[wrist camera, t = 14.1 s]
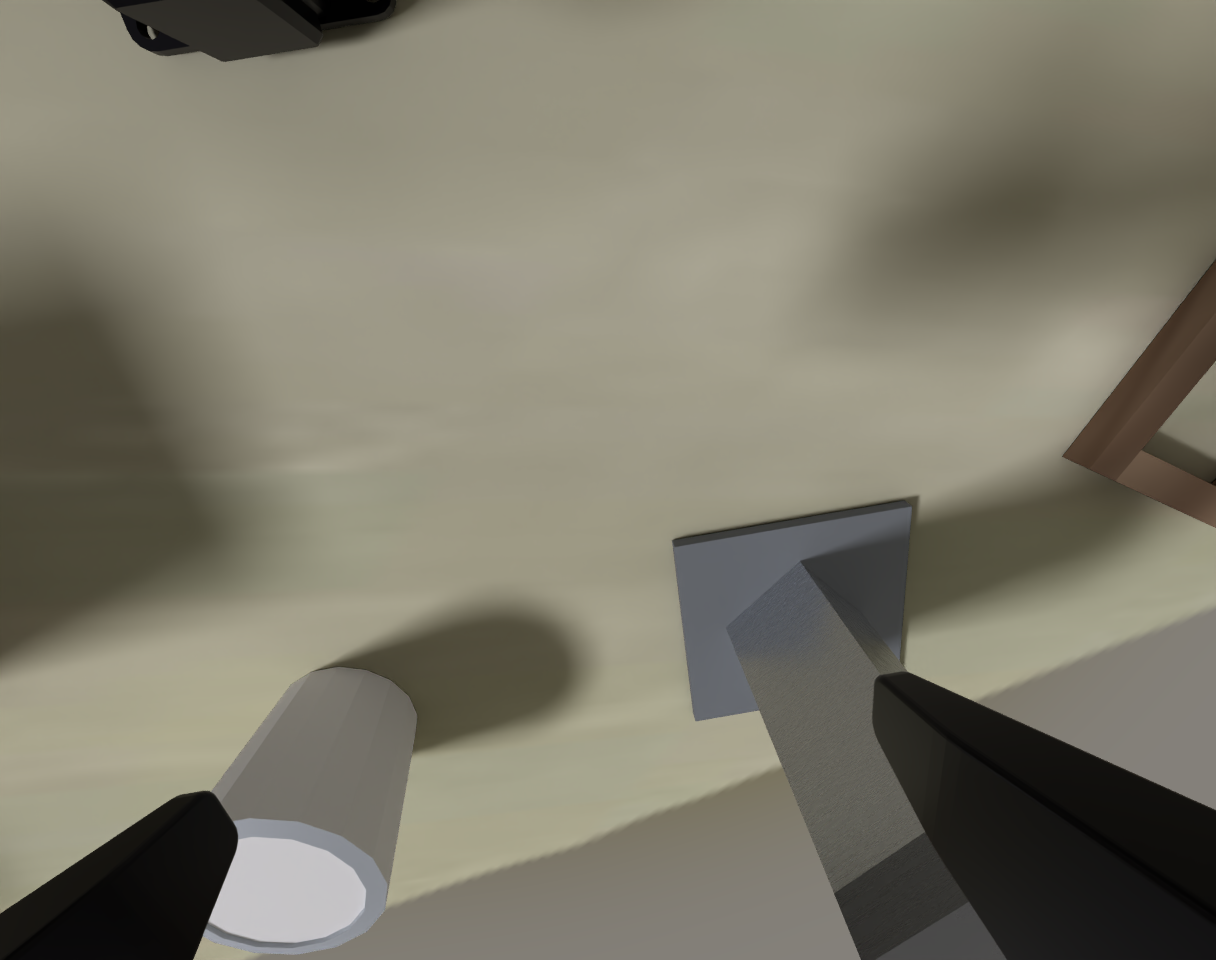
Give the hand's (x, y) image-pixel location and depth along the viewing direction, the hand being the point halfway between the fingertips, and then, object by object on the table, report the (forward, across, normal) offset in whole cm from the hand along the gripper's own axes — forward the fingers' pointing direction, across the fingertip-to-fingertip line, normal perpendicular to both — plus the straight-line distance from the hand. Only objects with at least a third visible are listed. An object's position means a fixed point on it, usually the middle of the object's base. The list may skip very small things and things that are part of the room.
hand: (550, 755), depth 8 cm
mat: (+13, +8, -10) cm, 18 cm away
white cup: (+13, -11, -11) cm, 20 cm away
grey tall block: (+12, +8, -9) cm, 18 cm away
